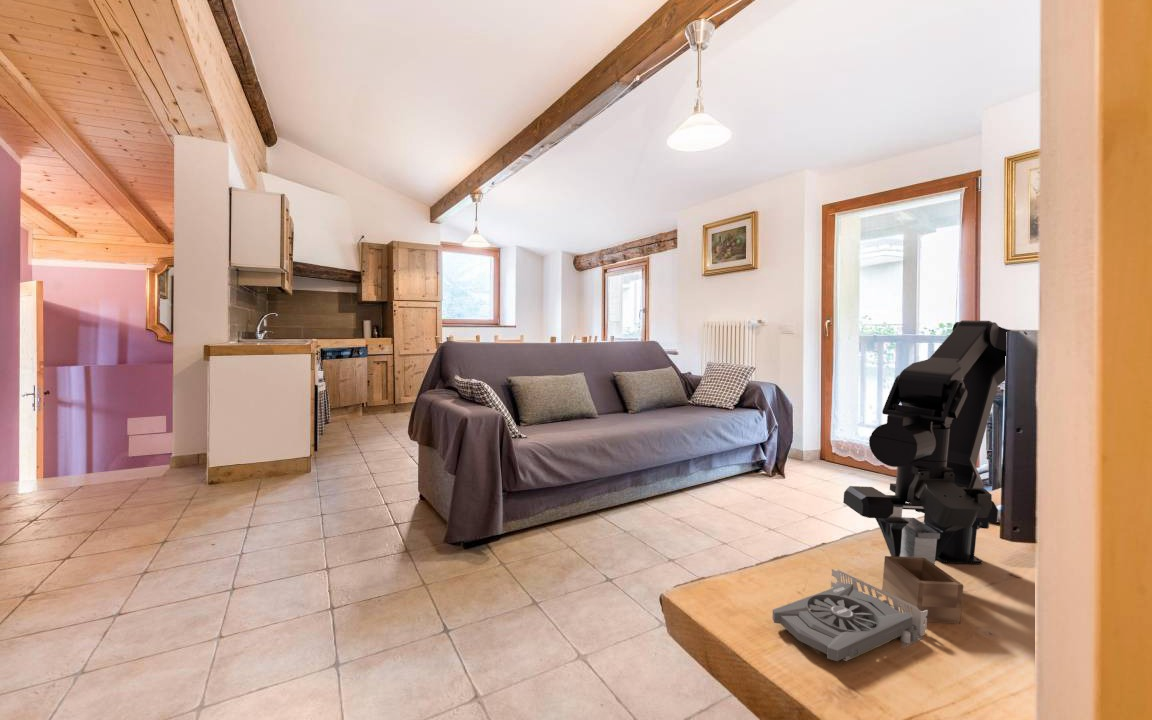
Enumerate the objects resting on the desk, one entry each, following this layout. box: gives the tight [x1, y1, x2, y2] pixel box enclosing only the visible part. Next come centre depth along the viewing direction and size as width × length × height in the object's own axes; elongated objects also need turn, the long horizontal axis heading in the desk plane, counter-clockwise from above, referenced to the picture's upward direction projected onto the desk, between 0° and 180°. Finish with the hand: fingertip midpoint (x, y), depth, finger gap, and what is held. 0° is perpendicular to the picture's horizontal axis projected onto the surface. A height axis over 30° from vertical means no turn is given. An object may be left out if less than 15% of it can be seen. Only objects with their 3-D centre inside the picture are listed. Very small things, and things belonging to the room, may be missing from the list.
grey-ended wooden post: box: [900, 516, 940, 565], centre depth 70 cm, size 6×3×8 cm, turn 178°
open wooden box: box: [881, 555, 964, 624], centre depth 63 cm, size 5×7×5 cm
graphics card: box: [771, 568, 928, 662], centre depth 59 cm, size 17×4×12 cm
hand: (913, 560), depth 70 cm, fingers open, 5 cm apart
